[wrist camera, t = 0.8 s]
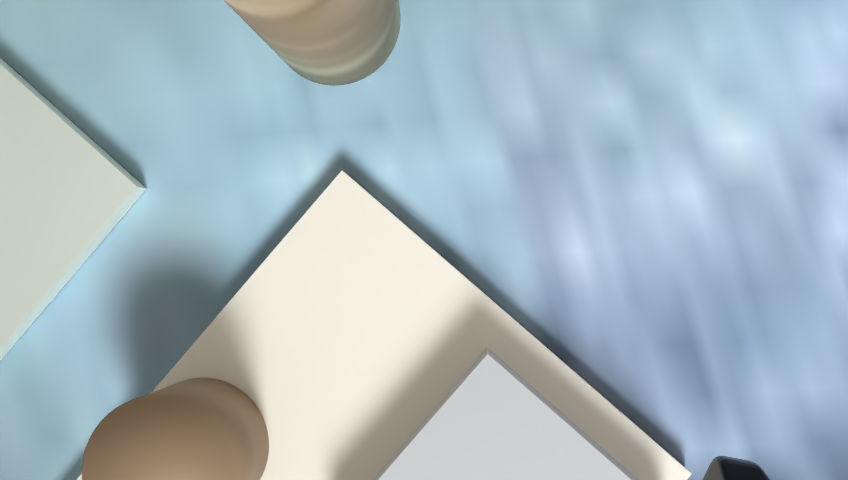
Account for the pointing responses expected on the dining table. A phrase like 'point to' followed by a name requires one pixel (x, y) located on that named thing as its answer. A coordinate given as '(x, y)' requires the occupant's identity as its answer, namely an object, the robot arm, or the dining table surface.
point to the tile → (368, 377)
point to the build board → (48, 202)
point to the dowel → (326, 34)
